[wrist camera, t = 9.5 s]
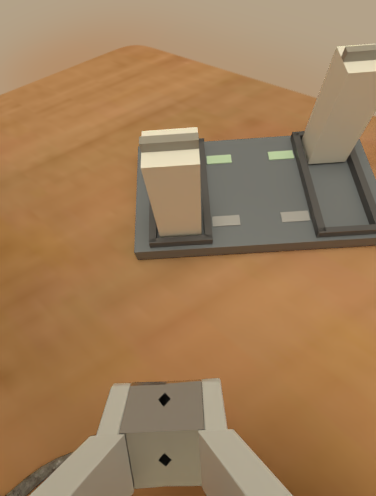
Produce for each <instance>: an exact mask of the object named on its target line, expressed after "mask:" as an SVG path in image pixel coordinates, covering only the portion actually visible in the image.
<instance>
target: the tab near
mask: <svg viewBox="0 0 376 496" xmlns="http://www.w3.org/2000/svg"><path fill="white" fill-rule="evenodd" d="M139 146H140V150H141V171H142V175H143V178H144V182H145V185H146V189H147V193H148V196H149V200H150V203H151V207H152V210H153V214H154V218H155V221H156V225H157V228H158V232H159V236H160V238H161V237H177V236H193V235H201V183H200V156H199V137H198V131H197V127H193V128H179V129H165V130H151V131H142V136H141V137H139Z"/></svg>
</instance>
